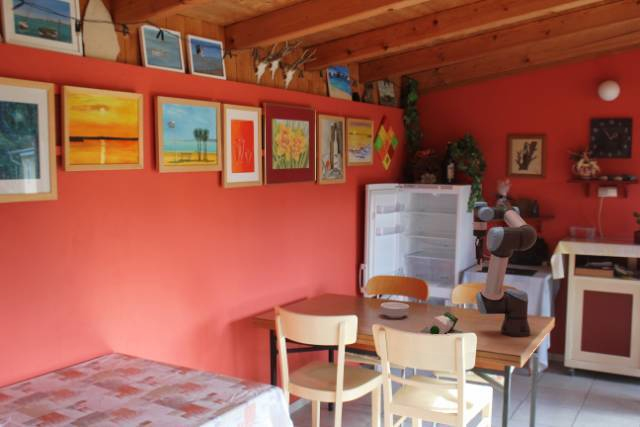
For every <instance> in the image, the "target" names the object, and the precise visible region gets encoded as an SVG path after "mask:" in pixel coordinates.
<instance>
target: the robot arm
mask: <svg viewBox="0 0 640 427" xmlns="http://www.w3.org/2000/svg"><path fill="white" fill-rule="evenodd" d="M472 209H473V212H472V213H473V215H472V216H473V218H472V219H473V222H472V224H471V225H473V227H472V228H473V229H472V236H473V237H476V238H475V241H474V246H475V258H474V259H476V267H475V268H476V271H482V270H483V260H484V247H485V246H484V245H485V244H486V248H487V250H488V252H489V253H490V258H489V264H488V269H487V274H486V278H485V285H484V286H483V287H481V289H480V291H477V292H476V293H475V294H476V296H475V297H476V299H475V300H476V305H477V310H478V312H479V314H481V315H504V319H503V321H502V324H501V328H500V333H501V334H502V335H505V336H509V337H516V338H517V337H519V338H522V337H529V336H530V335H531V328H530V324H529V320H528V312H529V311H528V310H529V309H528V307H529V306H528V305H529V298H528V297H529V296H528V293H527V292H526V291H523V290H520V289H516V288H505V290H503V287H504V282H505V275H506V270H507V266H508V262H509V258H511V257H512V256H513V253H514V251H517V252H518V251H527V250H528V249H530V248H532V247H533V246H534V244H536V241H537V238H538V234H537V232H536V229H535V228H534V227H533V226H532V225H531V224H527V222H525V220H524V219H523V218H522V217H521V216H520V215H521V214H520V208H519V207H517V206H513V205H511V206H488V203H487V202H486V201H475V202H474V203H473V208H472ZM490 221H504V222H505V223H506V224H507V225H508V226H509V227H508V226H506V227H505V226H504V227H503V226H495V227H494V226H493V227H491V228H490V229H489V231H487V229H488V222H490ZM484 237H486V243H485V239H484Z"/></svg>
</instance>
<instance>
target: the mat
mask: <svg viewBox="0 0 640 427" xmlns="http://www.w3.org/2000/svg"><path fill="white" fill-rule="evenodd" d="M428 328H429V326H425V327H424V328H423V329H421V330H420V332H421V333H427V332H428V333H427V334H431V332H430V330H429V329H428ZM447 333H461V334H463V330H456V329H453V330H450V331H448V332H446V333H445V334H447Z"/></svg>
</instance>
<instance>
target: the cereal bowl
mask: <svg viewBox="0 0 640 427" xmlns="http://www.w3.org/2000/svg"><path fill="white" fill-rule="evenodd" d="M380 311H381V313H382V314H383V315H385V316H387V318H389V319H401V318H402V317H406V316H407V314H408V313H409V311H410V305H409V304H407V303H402V302H394V301H393V302H392V301H391V302H390V301H388V302H383V303H381V304H380Z"/></svg>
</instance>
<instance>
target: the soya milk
mask: <svg viewBox="0 0 640 427" xmlns="http://www.w3.org/2000/svg"><path fill="white" fill-rule="evenodd" d="M458 320H459V318H458V317H457V316H455V315H453V314H452V313H450V312H449V311H447V312H445V313H443V314H441V315H439V316H434V317H433V319H432V320H431V322H430V325H428V327H429V328H428V329H429V330H430V332H431V333H430V334H431V335H433V334H445V333H446V332H448V331H450V330H454V328H455V326H456V324H457V322H458Z"/></svg>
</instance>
